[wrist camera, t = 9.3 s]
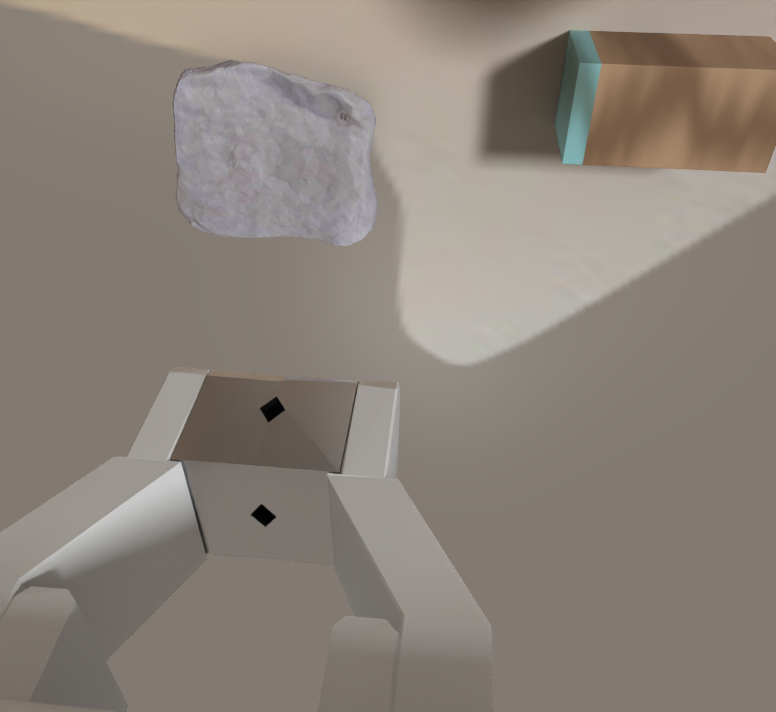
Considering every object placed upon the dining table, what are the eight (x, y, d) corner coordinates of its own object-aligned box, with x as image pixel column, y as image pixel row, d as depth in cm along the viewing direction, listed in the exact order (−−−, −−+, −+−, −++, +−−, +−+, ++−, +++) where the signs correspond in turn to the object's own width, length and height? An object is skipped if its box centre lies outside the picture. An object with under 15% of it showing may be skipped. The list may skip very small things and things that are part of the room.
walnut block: (579, 62, 33) (803, 70, 33) (569, 30, 37) (769, 36, 37) (562, 163, 37) (765, 172, 36) (554, 124, 40) (738, 131, 40)
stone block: (181, 48, 42) (194, 215, 47) (153, 58, 38) (170, 241, 42) (386, 62, 42) (377, 228, 46) (381, 73, 37) (372, 255, 42)
